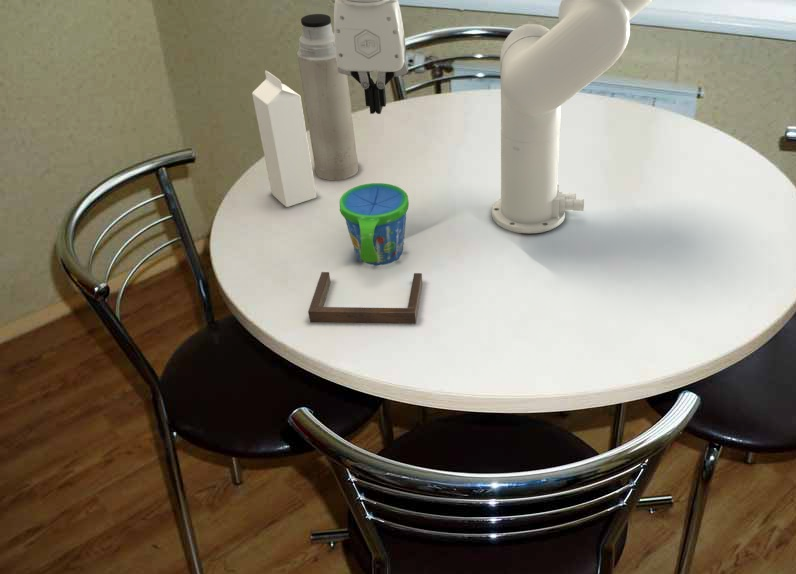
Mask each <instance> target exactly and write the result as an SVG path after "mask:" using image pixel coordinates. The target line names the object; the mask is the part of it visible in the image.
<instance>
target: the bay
mask: <svg viewBox="0 0 796 574" xmlns="http://www.w3.org/2000/svg"><path fill="white" fill-rule="evenodd" d="M331 281H332V280H331V276H330V272H329V271H321V273H320V276H319V278H318V282H317V284H316V287H315V290H314V293H313V296H312V298H311V302H310V305H309V308H308V311H307V313H308V318H309V323H318V324H319V323H321V324H322V323H323V324H328V323H329V324H333V323H334V324H395V325H396V324H399V325H416V324H417V319H418V314H419V307H420V302H421V295H422V290H423V285H424V283H423V274H422V272H414V273H413V277H412V282H411V287H410V295H409V299H408V305H407V307H361V306H360V307H353V306H349V307H348V306H347V307H346V306H324V305H325V302H326V299H327V296H328V292H329V290H330V286H331V283H332V282H331Z"/></svg>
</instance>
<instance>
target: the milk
mask: <svg viewBox="0 0 796 574" xmlns="http://www.w3.org/2000/svg"><path fill="white" fill-rule="evenodd" d="M264 73H265V79H264V81H262V82H261V83H260V84H259V85H258V86H257V87H256V88H255V89H254V90H253V91H252V92H251V95H252V96H251V97H252V100H253V105H254V111H255V115H256V120H257V126H258V131H259V137H260V140H261V141H260V142H261V146H262V150H263V151H262V152H263V156H264V161H265V166H266V171H267V172H266V173H267V177H268V181H269V182H268V183H269V186H270V191H271V194H272V196H273V197H274V198H275V199H277V200H278V201H279V202H280V203H281V204H282V205H283V206H284V207H285V208H289V207H291V206H295V205H298V204H301V203H304V202H307V201H311V200H313V199H316V198H317V191H316V184H315V177H314V172H313V166H312V165H313V164H312V160H311V153H310V147H309V141H308V135H307V129H306V122H305V115H304V110H303V104H302V97H301V95H300V94H299V93H297V92H296V91H294V90H293V89H292V88H290V87H289V86H288V85H286V84H284V83H282V81H281V79H279V78H278V77H276V76H275V75H274V74H272V73H271V72H269V71H268V70H266V69H265V71H264Z"/></svg>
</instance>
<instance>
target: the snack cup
mask: <svg viewBox="0 0 796 574" xmlns="http://www.w3.org/2000/svg"><path fill="white" fill-rule="evenodd" d="M408 210H409V196H408V193H407V192H405V190H404V189H402V188H401V187H399V186H397V185H393V184H390V183H383V182H374V183H373V182H371V183H364V184H360V185H357V186H354V187H352V188H350V189H348V190H346V191H345V192H344V193H343V194H342V195H341V197H340V199H339V212H340V214H341V216H342V217H343V218H344V220H345V223H346V227H347V230H348V233H349V236H350V241H351V243H352V246H353V249H354V253H355V255H356V257H357V259H358V261H361V262H363V263H365V264H367V265H370V266H371V265H372V266H374V267H378V266H382V265H383V266H384V265H388V264H391V263H393V262H396V261H398V260H400V257H401V256H402V254H403V251H404V245H405V242H404V241H405V234H406V220H407V212H408Z"/></svg>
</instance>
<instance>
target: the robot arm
mask: <svg viewBox="0 0 796 574" xmlns="http://www.w3.org/2000/svg"><path fill="white" fill-rule="evenodd" d="M651 2H653V0H560V3H559V5H558V6H559V7H558V23H556V24H555V25H554V26H553V27H551V29H549V28H548V27H546V26H544V25H541V24H538V23H526V24H525V23H524V24H523V25H520V26H518V27H516V28H514V29H513V30H512V31H511V32H510V33H509V34H508V35H507V37H506V38H505V40H504V42H503V44H502V46H501V50H500V55H499V72H500V198H499V199H498V200H496V201H495V203H494V204H493V205H492V208H491V216H492V220H493V221H494V223H496V224H497V226H498V227H499V226H500V228H503V229H505V230H507V231H509V232H514V233H517V234H518V233H520V234H539V233H540V234H541V233H545V232H549V231H551V230H554V229H556V228H557V227H559V226H560V225H561V224H562V223H563V222H564V220H565V217H566V211H575V212H576V211H577V212H579V211H580V212H581V211H584V207H585V200H584V199H583V198H577V193H563V191H560V187H559V186H560V185H559V183H558V182H559V181H558V180H559V177H558V176H559V159H560V139H561V138H560V137H561V124H562V122H561V120H562V105H564V104H565V103H566V102H568V101H569V100H570V99H572V98H573V97H574V96H576V95H577V94H578V93H580V92H581V91H582V90H583V89H585V88H586V87H588V85H590V84H591V83H593V81H595V80H597V79H598V78H599V77H600V76H602V75H603V74H605V72H606V71H608V70H609V69H611V67H612V66H613V65H614V64H616V62H617V61H618V60H619V59H620V57H621V56H622V55H623V53H624V51H626V48H627V46H628V43H629V41H630V37H631V20H632V19H633V18H634V17H635V16H637V14H639V13H640V12H641V11H643V9H645V8H646V7H647V6H648V5H649V4H650V3H651ZM333 5H334V7H333V33H334V37H335V53H336V61H337V65H338V69H337V70H338V72H339V73H341V74H344V75H347V77H348V76H349V77H350V76H351V77H352V78H353V79H355V80H356V82H358V83H359V84H360V85H361V88H362V89H364V90H363V91H364V101H365V106H366V107H369V114H370V115H374V114H377V115H381V113H382V111H383V108H385V107H386V106H387V95H386V86H387V85H388V83H390V81H392V79H393V78H396V77H402V76H405V75H407V74H408V72H409V66H408V63H407V60H406V56H407V47H406V39H405V31H404V24H403V23H404V22H403V18H402V17H403V16H402V12H401V6H400V3H399V0H334V4H333ZM372 72H373V73H374V72H375V73H377V75H376V81H374V80H373V78H372V74H371V73H372Z"/></svg>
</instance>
